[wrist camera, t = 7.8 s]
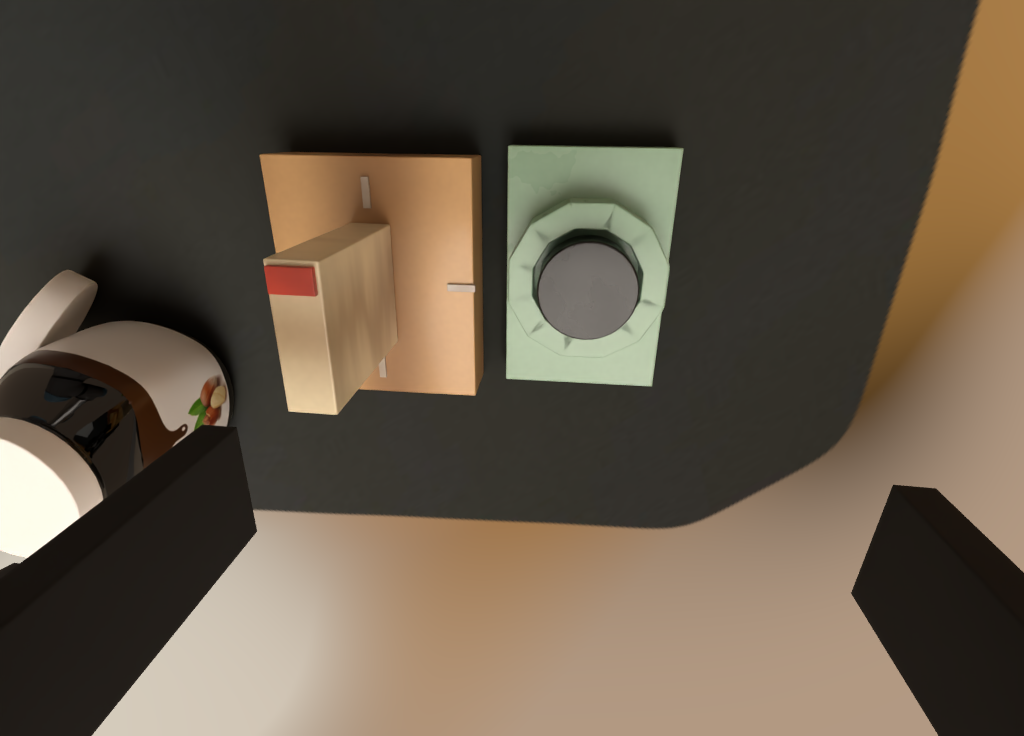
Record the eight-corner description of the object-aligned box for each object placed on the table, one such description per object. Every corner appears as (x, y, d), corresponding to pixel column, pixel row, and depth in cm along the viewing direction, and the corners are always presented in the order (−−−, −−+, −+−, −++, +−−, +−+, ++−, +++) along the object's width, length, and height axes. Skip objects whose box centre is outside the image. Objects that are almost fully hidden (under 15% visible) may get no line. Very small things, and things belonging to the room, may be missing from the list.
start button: (540, 232, 25) (538, 239, 23) (640, 235, 24) (645, 242, 23) (537, 325, 27) (535, 338, 25) (630, 329, 26) (634, 342, 25)
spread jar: (236, 463, 36) (97, 602, 25) (74, 418, 36) (-135, 539, 25) (244, 299, 31) (75, 386, 20) (55, 246, 31) (-215, 305, 20)
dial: (398, 341, 28) (335, 418, 20) (361, 339, 28) (284, 415, 20) (390, 223, 25) (315, 262, 18) (349, 222, 25) (258, 259, 18)
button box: (511, 144, 26) (503, 146, 23) (676, 147, 25) (692, 149, 22) (509, 366, 31) (502, 393, 28) (647, 373, 30) (657, 402, 27)
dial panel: (319, 364, 32) (294, 387, 29) (287, 151, 27) (254, 154, 24) (485, 373, 31) (477, 397, 28) (483, 155, 26) (472, 157, 24)
